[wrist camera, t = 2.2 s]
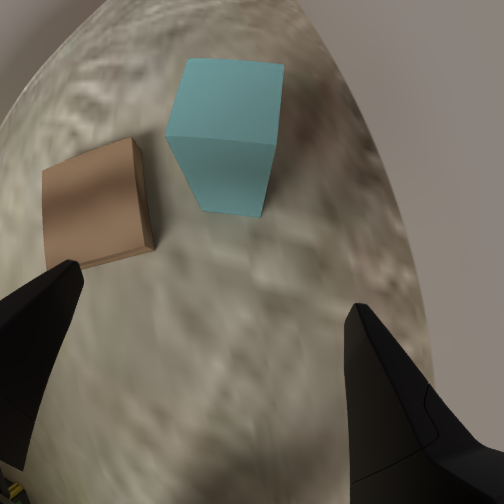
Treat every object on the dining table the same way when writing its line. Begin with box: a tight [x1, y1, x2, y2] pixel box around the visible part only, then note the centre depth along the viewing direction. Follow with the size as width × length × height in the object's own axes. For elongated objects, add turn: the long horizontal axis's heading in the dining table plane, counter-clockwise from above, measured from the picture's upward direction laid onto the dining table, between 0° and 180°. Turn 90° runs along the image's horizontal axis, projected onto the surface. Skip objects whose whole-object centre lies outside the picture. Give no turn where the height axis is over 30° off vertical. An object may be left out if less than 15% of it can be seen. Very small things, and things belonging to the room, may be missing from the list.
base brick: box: [42, 137, 155, 271], centre depth 22 cm, size 9×9×2 cm
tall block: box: [165, 58, 284, 218], centre depth 17 cm, size 4×4×12 cm
